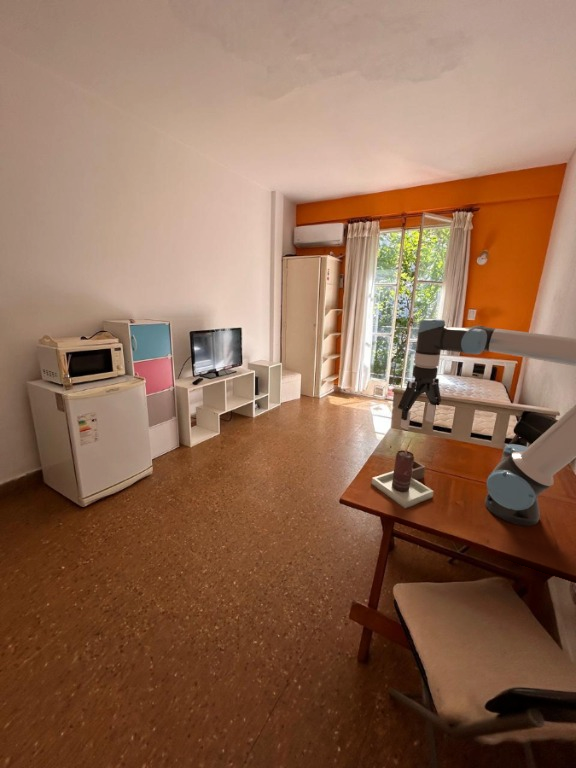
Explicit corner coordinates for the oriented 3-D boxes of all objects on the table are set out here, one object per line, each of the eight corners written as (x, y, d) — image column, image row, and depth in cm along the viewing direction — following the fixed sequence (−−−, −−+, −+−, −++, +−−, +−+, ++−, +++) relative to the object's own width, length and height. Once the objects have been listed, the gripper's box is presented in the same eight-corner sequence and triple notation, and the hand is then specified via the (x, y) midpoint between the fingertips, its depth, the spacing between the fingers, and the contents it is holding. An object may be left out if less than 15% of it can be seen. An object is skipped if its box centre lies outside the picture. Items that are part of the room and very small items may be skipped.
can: (406, 483, 120) (411, 450, 116) (410, 493, 114) (416, 458, 110) (390, 481, 121) (394, 448, 117) (393, 491, 115) (398, 456, 111)
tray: (432, 497, 113) (433, 491, 113) (405, 508, 107) (406, 501, 106) (397, 475, 127) (398, 469, 126) (371, 483, 120) (372, 477, 119)
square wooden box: (423, 477, 125) (425, 466, 124) (409, 482, 122) (411, 471, 120) (407, 468, 132) (409, 457, 131) (393, 472, 128) (395, 461, 127)
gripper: (438, 361, 116) (429, 415, 121) (391, 366, 103) (384, 427, 109) (457, 364, 110) (448, 422, 115) (410, 371, 97) (402, 435, 103)
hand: (417, 424), depth 112 cm, fingers open, 13 cm apart
